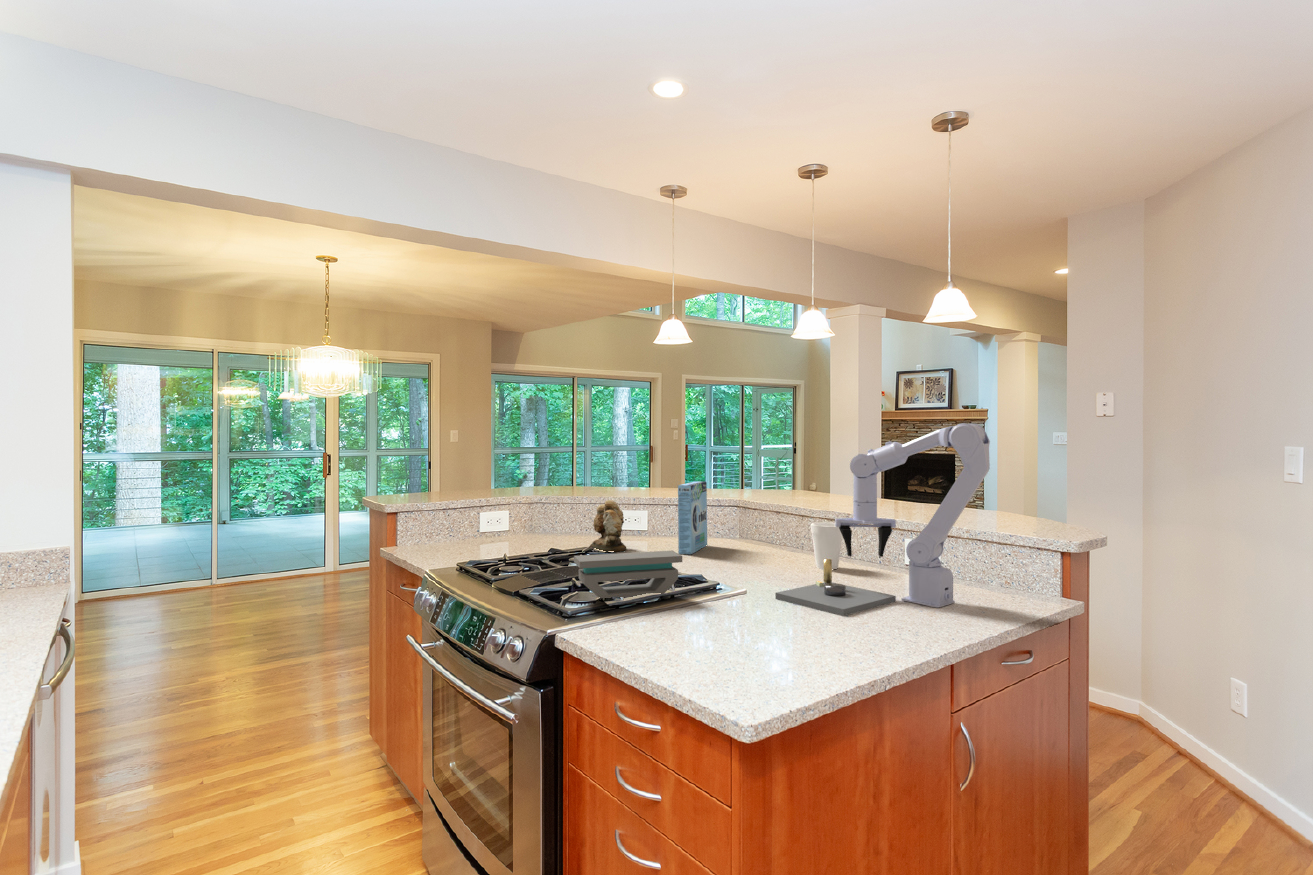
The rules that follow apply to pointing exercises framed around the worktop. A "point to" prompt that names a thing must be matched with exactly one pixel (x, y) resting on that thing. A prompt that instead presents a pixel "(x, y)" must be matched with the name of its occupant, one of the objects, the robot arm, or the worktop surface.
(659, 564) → the sharpening stone
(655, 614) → the worktop surface
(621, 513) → the brown stone sculpture
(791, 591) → the dial plate
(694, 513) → the gum box
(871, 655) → the worktop surface
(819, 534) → the foam cup
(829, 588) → the crank
